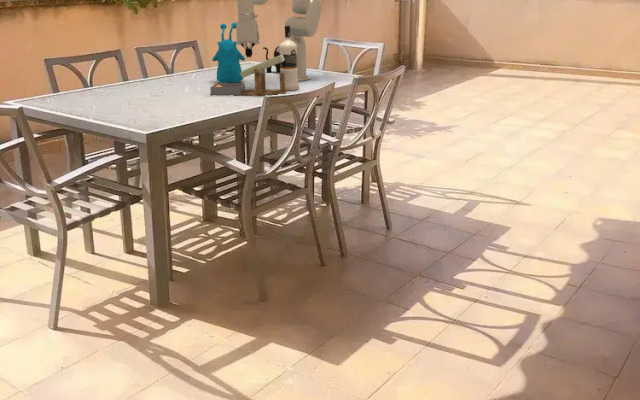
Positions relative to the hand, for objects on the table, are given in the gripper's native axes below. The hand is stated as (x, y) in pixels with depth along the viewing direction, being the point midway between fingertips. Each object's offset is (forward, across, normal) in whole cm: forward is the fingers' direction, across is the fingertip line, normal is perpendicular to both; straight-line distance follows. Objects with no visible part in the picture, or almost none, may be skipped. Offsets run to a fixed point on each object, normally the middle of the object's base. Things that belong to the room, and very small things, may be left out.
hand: (249, 57), depth 328 cm
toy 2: (+17, -4, -50) cm, 53 cm away
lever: (+6, -9, +6) cm, 12 cm away
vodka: (+16, -19, 0) cm, 25 cm away
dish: (+15, +9, +11) cm, 21 cm away
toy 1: (+16, +15, -21) cm, 31 cm away
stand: (+16, -8, +11) cm, 21 cm away
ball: (+13, +13, +11) cm, 21 cm away
